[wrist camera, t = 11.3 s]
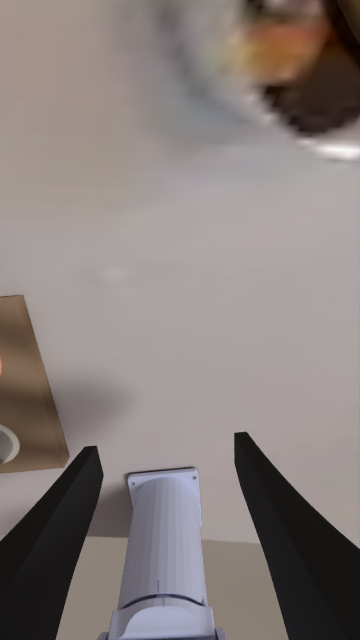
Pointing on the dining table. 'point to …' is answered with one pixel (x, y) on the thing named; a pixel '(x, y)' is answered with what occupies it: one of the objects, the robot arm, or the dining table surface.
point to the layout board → (25, 397)
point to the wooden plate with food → (351, 15)
